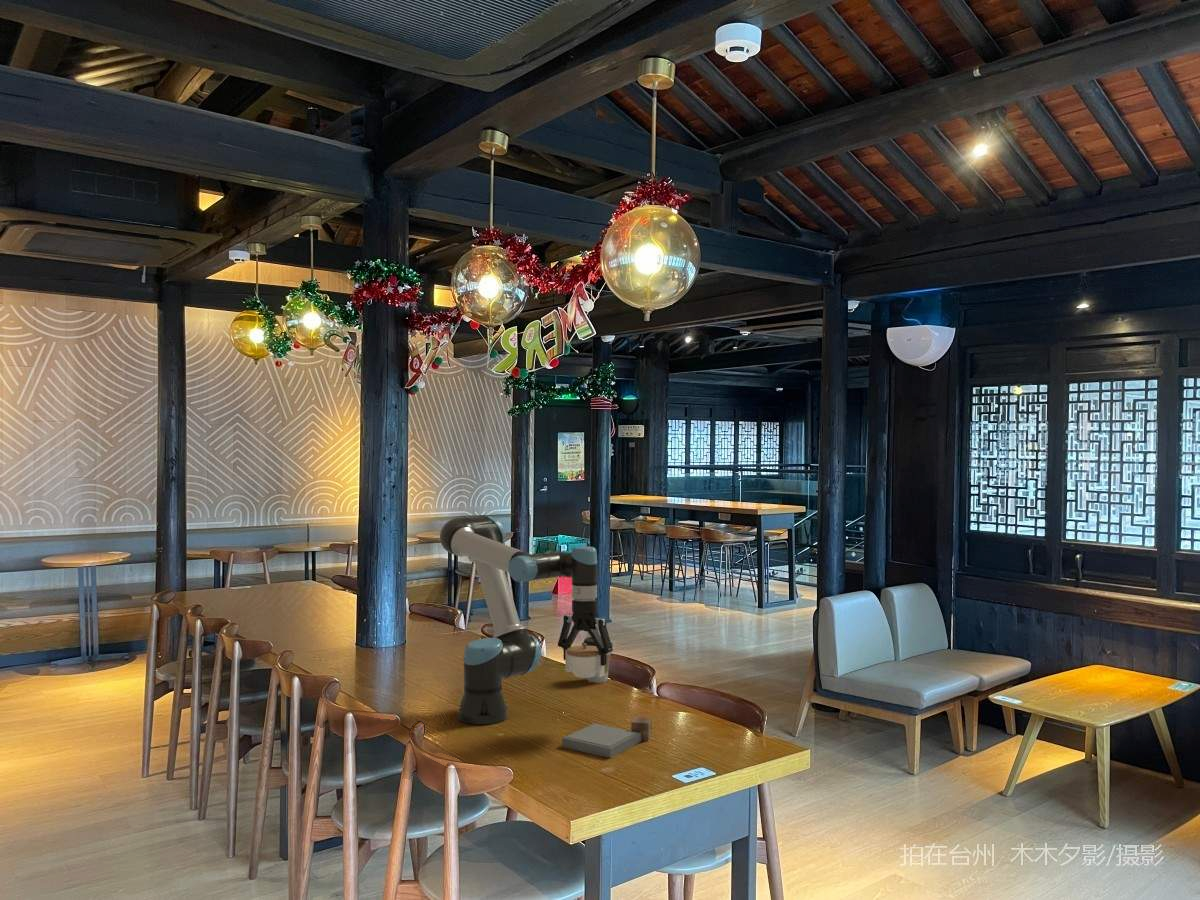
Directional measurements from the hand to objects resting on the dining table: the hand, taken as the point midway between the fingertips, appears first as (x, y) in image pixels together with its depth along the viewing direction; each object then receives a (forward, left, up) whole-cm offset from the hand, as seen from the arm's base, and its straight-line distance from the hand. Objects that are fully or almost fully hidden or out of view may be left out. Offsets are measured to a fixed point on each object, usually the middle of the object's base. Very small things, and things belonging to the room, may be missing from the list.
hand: (584, 673), depth 249 cm
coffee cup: (-27, +47, -16) cm, 57 cm away
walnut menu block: (+18, +3, -16) cm, 24 cm away
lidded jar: (0, 0, -1) cm, 1 cm away
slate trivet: (+12, -9, -16) cm, 22 cm away
